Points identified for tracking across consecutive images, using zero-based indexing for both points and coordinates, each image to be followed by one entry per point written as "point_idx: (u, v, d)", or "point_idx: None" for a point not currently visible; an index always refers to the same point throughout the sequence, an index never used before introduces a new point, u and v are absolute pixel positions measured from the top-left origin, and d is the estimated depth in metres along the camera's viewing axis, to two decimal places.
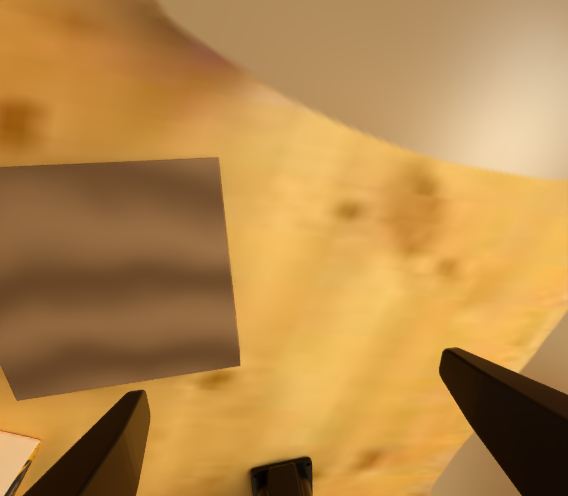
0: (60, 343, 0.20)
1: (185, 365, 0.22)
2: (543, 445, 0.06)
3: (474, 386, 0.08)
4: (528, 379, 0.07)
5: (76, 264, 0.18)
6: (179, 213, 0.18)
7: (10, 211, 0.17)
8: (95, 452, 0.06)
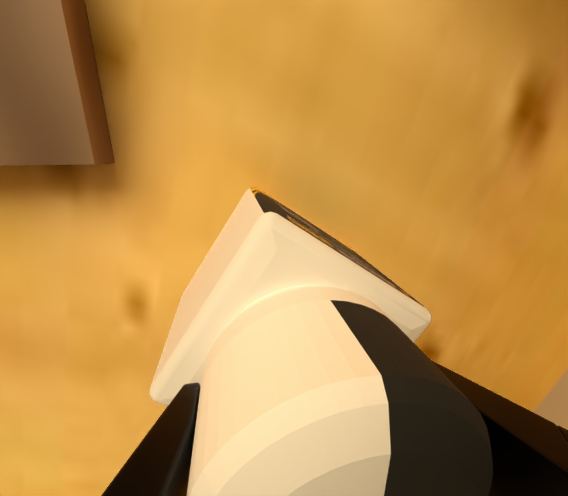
0: None
1: None
2: None
3: None
4: (479, 387, 0.07)
5: None
6: None
7: None
8: (171, 440, 0.06)
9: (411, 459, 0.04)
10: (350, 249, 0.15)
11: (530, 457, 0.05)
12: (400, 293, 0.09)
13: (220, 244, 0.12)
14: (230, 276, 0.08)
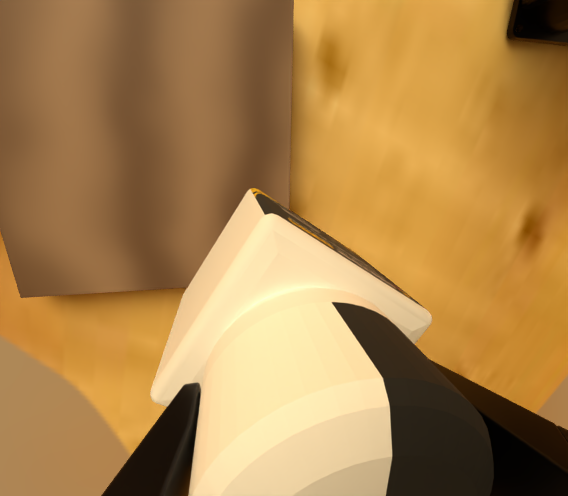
0: (221, 226, 0.18)
1: (277, 85, 0.16)
2: None
3: None
4: (479, 387, 0.07)
5: (115, 186, 0.16)
6: (24, 37, 0.13)
7: (52, 234, 0.16)
8: (171, 439, 0.06)
9: (414, 462, 0.04)
10: (350, 250, 0.15)
11: (530, 457, 0.05)
12: (401, 294, 0.09)
13: (221, 245, 0.12)
14: (231, 278, 0.08)
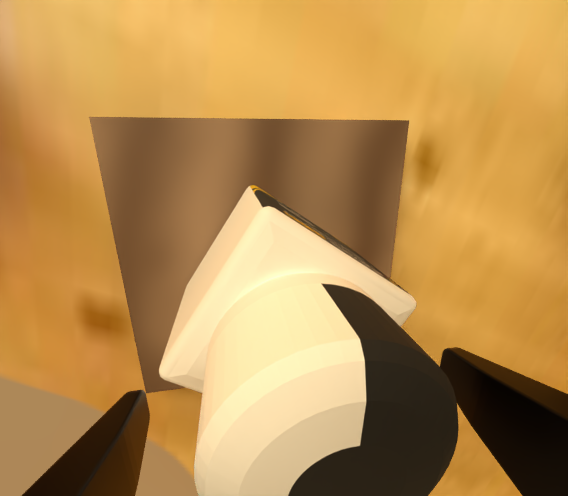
0: None
1: (387, 197, 0.17)
2: (544, 445, 0.06)
3: (474, 386, 0.08)
4: (528, 379, 0.07)
5: None
6: (173, 177, 0.14)
7: None
8: (94, 452, 0.05)
9: (384, 407, 0.05)
10: (344, 244, 0.16)
11: None
12: (387, 281, 0.10)
13: (222, 238, 0.13)
14: (232, 264, 0.09)
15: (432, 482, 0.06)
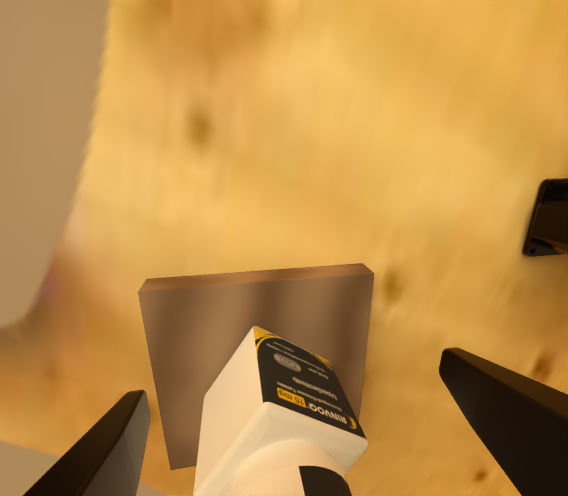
0: None
1: (358, 324, 0.22)
2: (543, 445, 0.06)
3: (474, 386, 0.08)
4: (528, 379, 0.07)
5: None
6: (196, 324, 0.19)
7: (197, 430, 0.22)
8: (95, 452, 0.06)
9: None
10: (325, 363, 0.21)
11: None
12: (347, 433, 0.15)
13: (233, 380, 0.18)
14: (243, 438, 0.14)
15: None
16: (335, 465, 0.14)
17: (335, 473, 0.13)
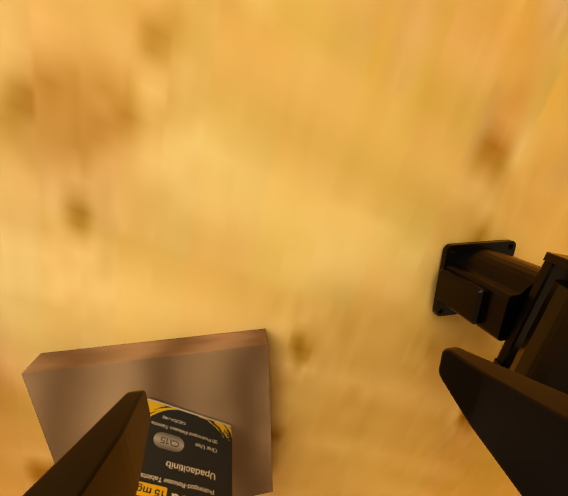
0: None
1: (259, 390, 0.22)
2: (543, 445, 0.06)
3: (474, 386, 0.08)
4: (528, 379, 0.07)
5: None
6: (87, 399, 0.20)
7: None
8: (95, 452, 0.05)
9: None
10: (223, 431, 0.22)
11: None
12: None
13: None
14: None
15: None
16: None
17: None
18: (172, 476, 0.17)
